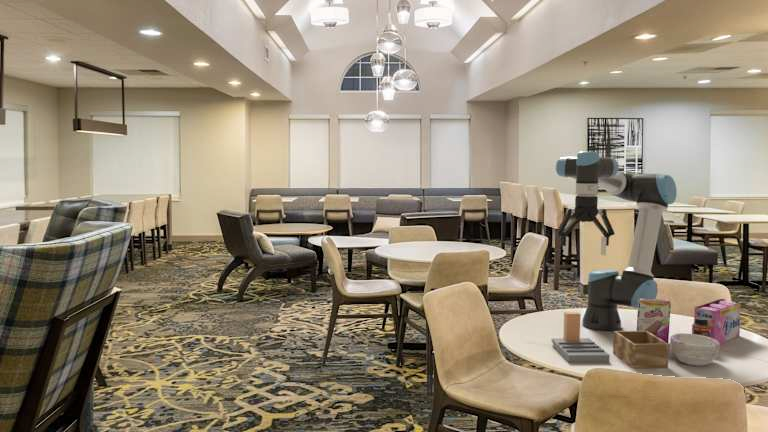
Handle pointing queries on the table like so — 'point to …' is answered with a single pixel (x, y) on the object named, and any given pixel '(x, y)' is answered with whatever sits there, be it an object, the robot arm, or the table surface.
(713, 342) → the paper bowls
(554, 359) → the table surface
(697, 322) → the supplement bottle
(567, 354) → the grooved grey block
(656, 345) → the tub
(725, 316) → the gum box
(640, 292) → the robot arm
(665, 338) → the candy bar box
